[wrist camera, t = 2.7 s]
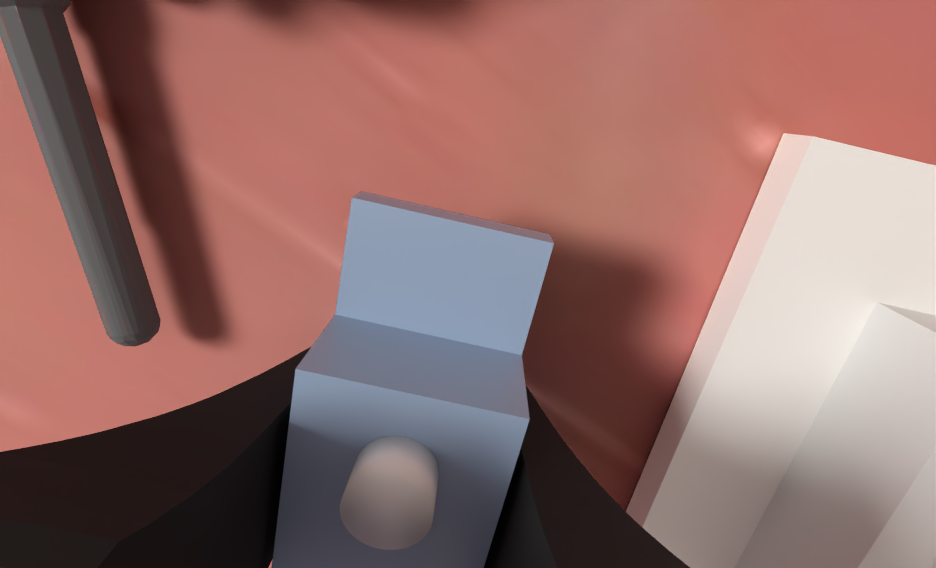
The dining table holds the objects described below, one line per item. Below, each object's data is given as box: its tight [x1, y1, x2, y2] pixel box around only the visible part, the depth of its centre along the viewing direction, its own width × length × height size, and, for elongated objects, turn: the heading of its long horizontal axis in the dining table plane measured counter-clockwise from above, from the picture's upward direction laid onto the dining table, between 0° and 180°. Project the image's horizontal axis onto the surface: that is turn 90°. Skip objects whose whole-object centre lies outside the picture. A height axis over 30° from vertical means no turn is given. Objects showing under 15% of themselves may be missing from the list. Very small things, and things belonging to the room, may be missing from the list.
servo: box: [272, 191, 554, 568], centre depth 10 cm, size 9×3×6 cm, turn 167°
